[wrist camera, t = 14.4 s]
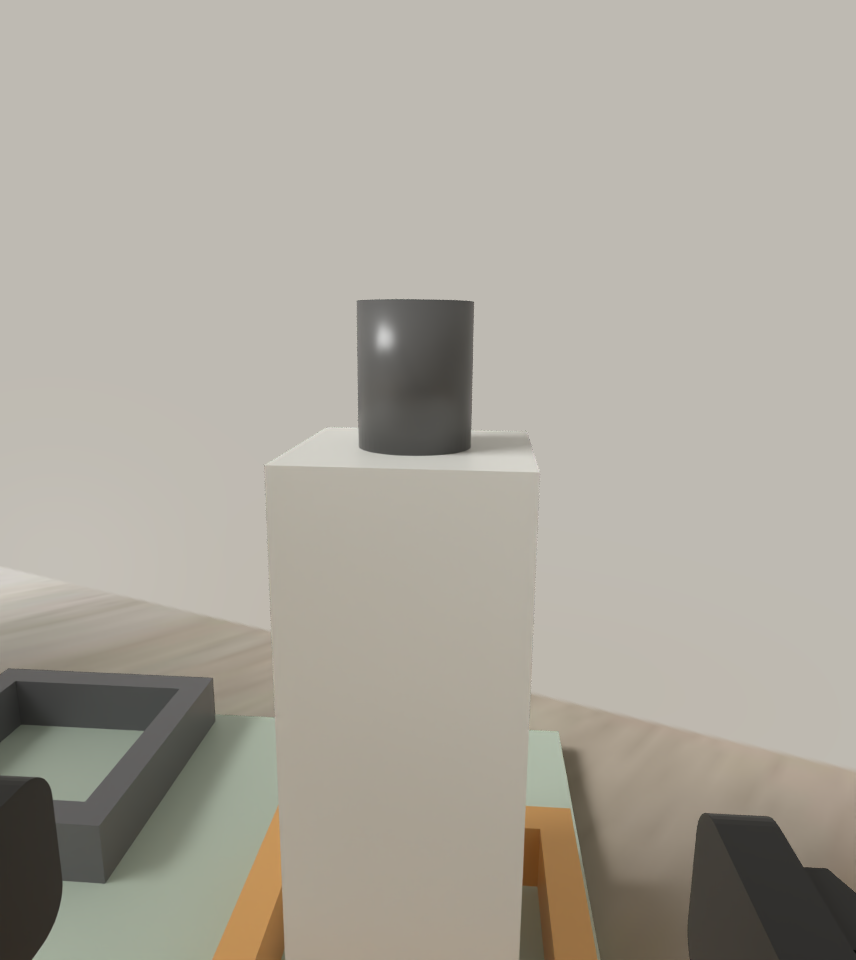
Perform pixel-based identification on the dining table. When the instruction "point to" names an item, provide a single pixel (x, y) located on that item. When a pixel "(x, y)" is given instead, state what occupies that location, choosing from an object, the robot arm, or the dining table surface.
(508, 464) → the white square bottle
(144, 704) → the panel
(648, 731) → the dining table surface
